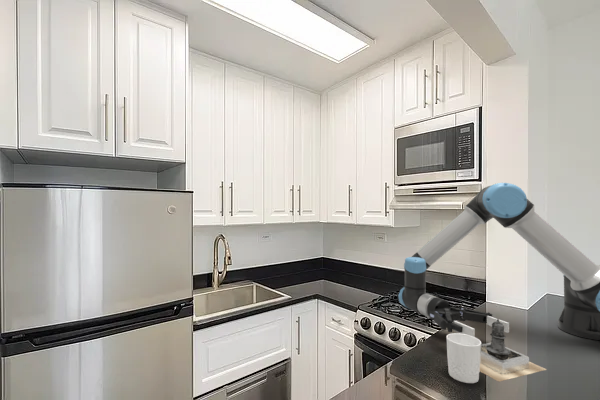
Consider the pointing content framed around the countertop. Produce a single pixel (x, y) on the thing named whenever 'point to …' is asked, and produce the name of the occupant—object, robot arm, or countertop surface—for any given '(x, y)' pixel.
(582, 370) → the countertop surface
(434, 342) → the countertop surface
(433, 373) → the countertop surface
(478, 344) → the white cup
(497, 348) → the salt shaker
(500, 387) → the countertop surface
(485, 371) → the flange board
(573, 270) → the robot arm
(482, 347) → the collar
